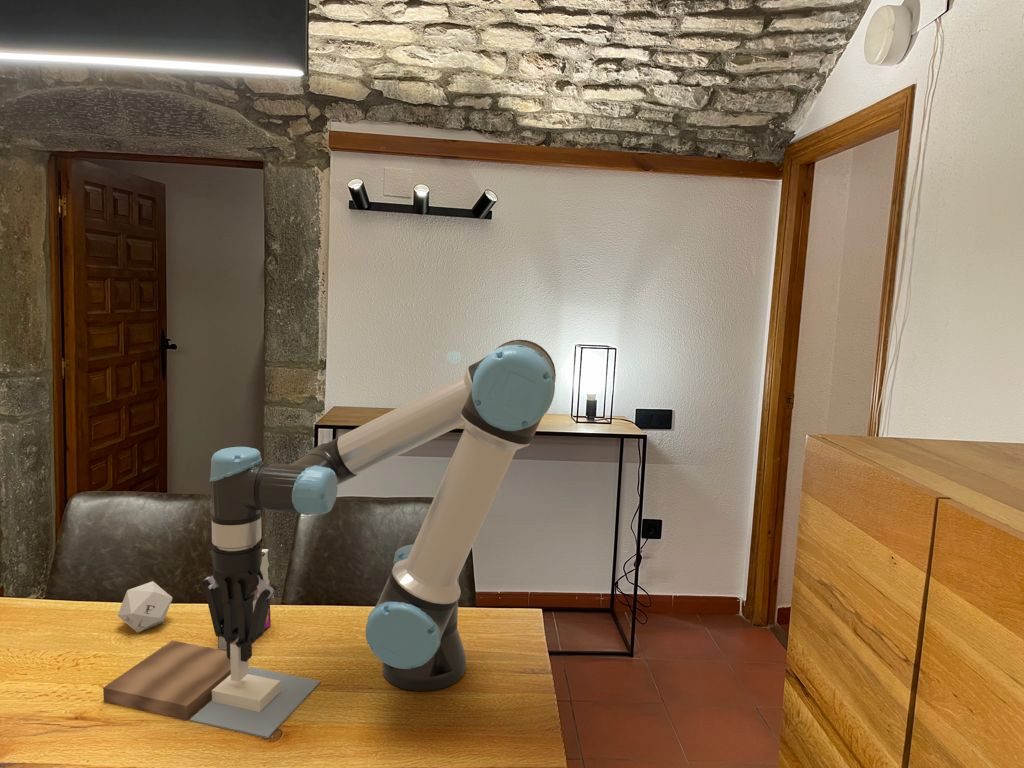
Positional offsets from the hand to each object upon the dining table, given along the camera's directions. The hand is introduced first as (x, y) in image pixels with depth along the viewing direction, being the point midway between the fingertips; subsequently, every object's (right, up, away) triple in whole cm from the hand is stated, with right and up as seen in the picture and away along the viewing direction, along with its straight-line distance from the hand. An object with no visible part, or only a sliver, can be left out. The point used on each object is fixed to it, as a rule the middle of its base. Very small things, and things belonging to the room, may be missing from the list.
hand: (239, 676), depth 120 cm
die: (-27, +1, +23) cm, 36 cm away
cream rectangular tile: (+1, -3, 0) cm, 4 cm away
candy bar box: (-7, -1, +20) cm, 21 cm away
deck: (-12, -3, +3) cm, 13 cm away
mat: (+3, -4, 0) cm, 5 cm away
